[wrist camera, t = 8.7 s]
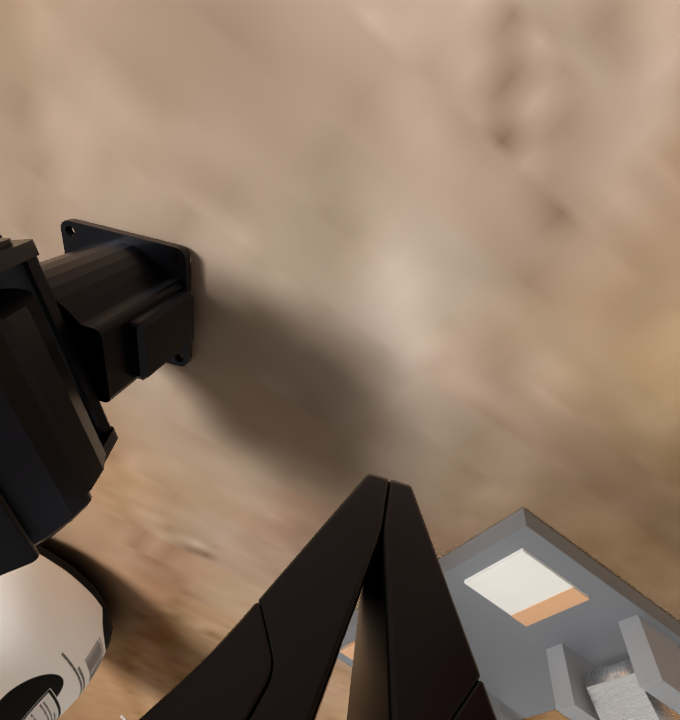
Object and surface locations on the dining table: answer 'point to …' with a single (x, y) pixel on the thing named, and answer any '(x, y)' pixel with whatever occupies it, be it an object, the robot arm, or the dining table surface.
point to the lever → (623, 695)
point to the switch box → (550, 622)
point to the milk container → (48, 638)
